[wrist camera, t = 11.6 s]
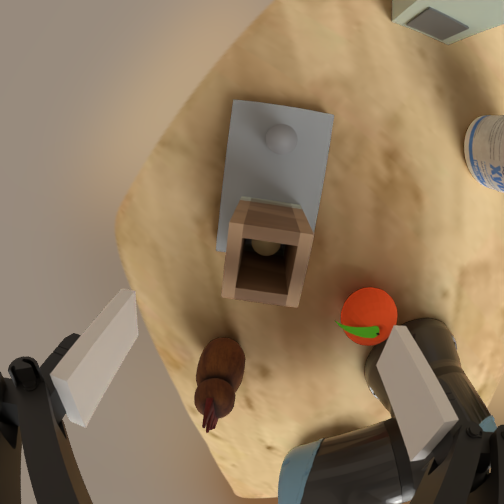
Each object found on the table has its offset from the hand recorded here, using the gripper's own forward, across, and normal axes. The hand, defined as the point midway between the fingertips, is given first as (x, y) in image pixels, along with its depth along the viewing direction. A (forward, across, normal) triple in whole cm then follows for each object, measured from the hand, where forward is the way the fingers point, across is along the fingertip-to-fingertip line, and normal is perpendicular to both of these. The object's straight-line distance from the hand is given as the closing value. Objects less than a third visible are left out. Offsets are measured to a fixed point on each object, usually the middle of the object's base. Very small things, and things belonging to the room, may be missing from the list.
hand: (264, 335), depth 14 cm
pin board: (+20, 0, -5) cm, 21 cm away
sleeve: (+18, 0, 0) cm, 18 cm away
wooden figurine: (+21, +3, +18) cm, 28 cm away
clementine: (+21, -13, +8) cm, 26 cm away
